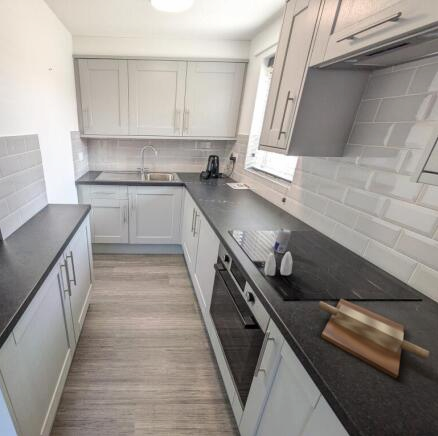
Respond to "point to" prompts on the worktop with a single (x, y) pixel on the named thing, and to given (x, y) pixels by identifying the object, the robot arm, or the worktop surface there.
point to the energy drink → (282, 240)
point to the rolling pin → (373, 329)
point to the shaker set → (285, 265)
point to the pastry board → (364, 341)
